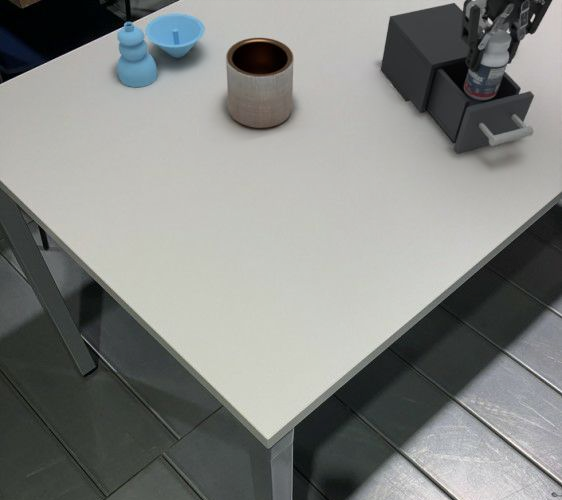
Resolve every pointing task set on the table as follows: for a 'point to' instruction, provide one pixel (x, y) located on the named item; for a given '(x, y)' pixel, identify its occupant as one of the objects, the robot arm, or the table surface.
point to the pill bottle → (489, 68)
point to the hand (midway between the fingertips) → (488, 64)
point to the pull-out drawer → (477, 110)
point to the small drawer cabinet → (422, 49)
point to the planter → (259, 82)
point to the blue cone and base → (164, 33)
